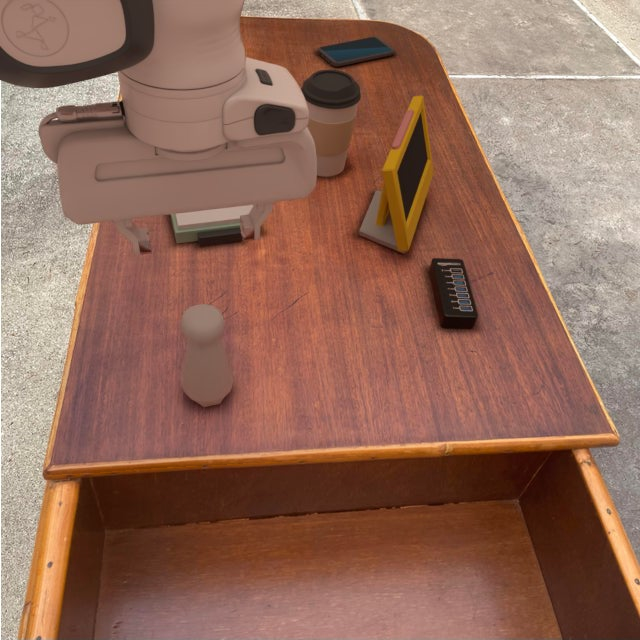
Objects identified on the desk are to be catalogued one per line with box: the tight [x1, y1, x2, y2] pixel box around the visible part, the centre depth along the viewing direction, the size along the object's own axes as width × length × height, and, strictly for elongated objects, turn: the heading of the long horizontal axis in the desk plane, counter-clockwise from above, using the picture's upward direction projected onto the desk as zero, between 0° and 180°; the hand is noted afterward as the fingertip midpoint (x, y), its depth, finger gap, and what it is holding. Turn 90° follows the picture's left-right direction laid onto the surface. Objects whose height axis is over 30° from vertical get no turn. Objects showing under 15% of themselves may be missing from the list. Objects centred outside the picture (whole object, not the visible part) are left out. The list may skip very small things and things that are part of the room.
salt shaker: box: [180, 303, 235, 408], centre depth 68 cm, size 6×6×13 cm
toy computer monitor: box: [358, 94, 435, 255], centre depth 91 cm, size 20×8×16 cm, turn 163°
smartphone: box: [317, 36, 395, 68], centre depth 133 cm, size 8×15×1 cm, turn 121°
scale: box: [169, 205, 262, 247], centre depth 93 cm, size 12×13×3 cm
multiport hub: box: [428, 257, 479, 330], centre depth 86 cm, size 4×11×2 cm, turn 2°
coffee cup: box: [300, 68, 362, 178], centre depth 100 cm, size 9×9×15 cm
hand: (197, 243), depth 57 cm, fingers open, 8 cm apart
